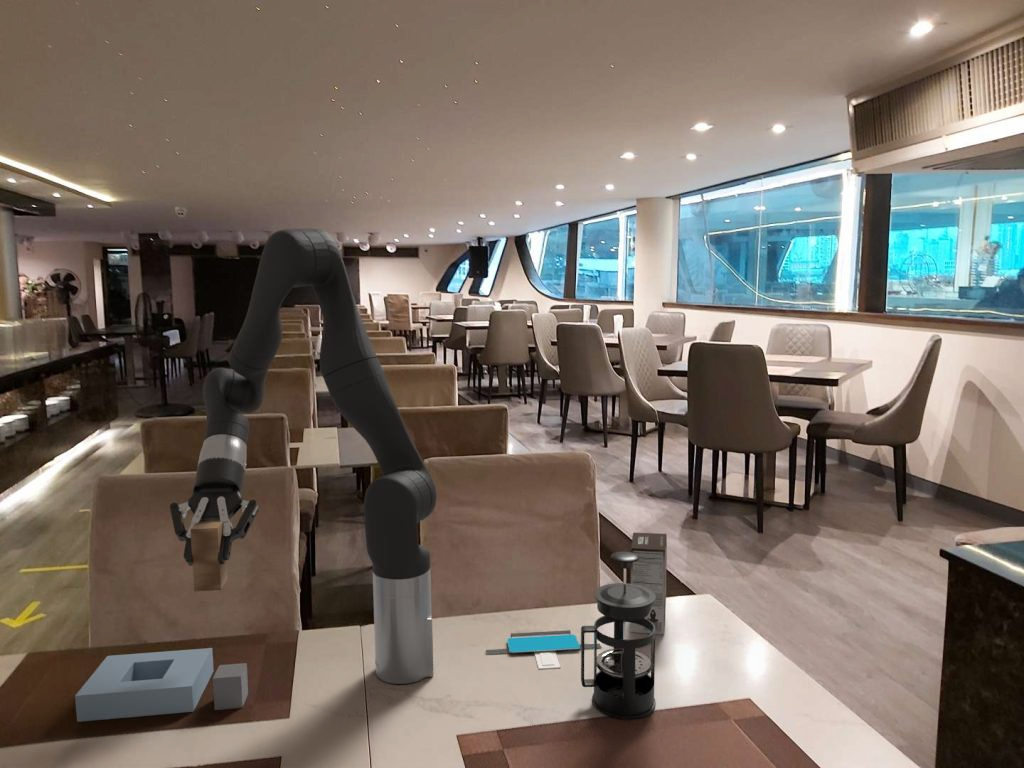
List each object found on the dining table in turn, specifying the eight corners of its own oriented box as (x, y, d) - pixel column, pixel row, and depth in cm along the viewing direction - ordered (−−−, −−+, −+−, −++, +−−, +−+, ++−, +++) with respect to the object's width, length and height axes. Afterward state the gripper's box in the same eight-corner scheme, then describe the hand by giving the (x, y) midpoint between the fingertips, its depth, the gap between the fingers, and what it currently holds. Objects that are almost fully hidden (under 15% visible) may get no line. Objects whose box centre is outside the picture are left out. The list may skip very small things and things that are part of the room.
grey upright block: (248, 693, 114) (246, 663, 113) (242, 707, 110) (241, 676, 109) (221, 695, 113) (219, 665, 112) (214, 710, 109) (212, 678, 108)
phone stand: (488, 675, 119) (488, 665, 119) (484, 641, 131) (484, 632, 131) (609, 668, 121) (609, 658, 121) (594, 635, 133) (594, 627, 133)
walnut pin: (227, 580, 118) (224, 520, 117) (221, 589, 114) (217, 527, 113) (201, 581, 118) (197, 521, 116) (194, 591, 114) (190, 529, 113)
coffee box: (631, 611, 142) (632, 531, 140) (665, 614, 140) (666, 532, 138) (629, 632, 133) (630, 547, 131) (665, 635, 131) (667, 549, 130)
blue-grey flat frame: (213, 671, 120) (212, 647, 120) (193, 711, 109) (191, 686, 108) (109, 679, 118) (107, 655, 118) (77, 721, 106) (75, 695, 106)
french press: (653, 685, 115) (655, 543, 112) (666, 719, 105) (668, 565, 103) (578, 686, 115) (578, 544, 112) (584, 720, 105) (585, 566, 103)
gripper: (171, 457, 120) (150, 554, 110) (261, 454, 122) (249, 550, 112) (182, 480, 126) (164, 575, 115) (268, 477, 128) (257, 570, 117)
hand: (206, 562), depth 114 cm, fingers closed on walnut pin, 4 cm apart
